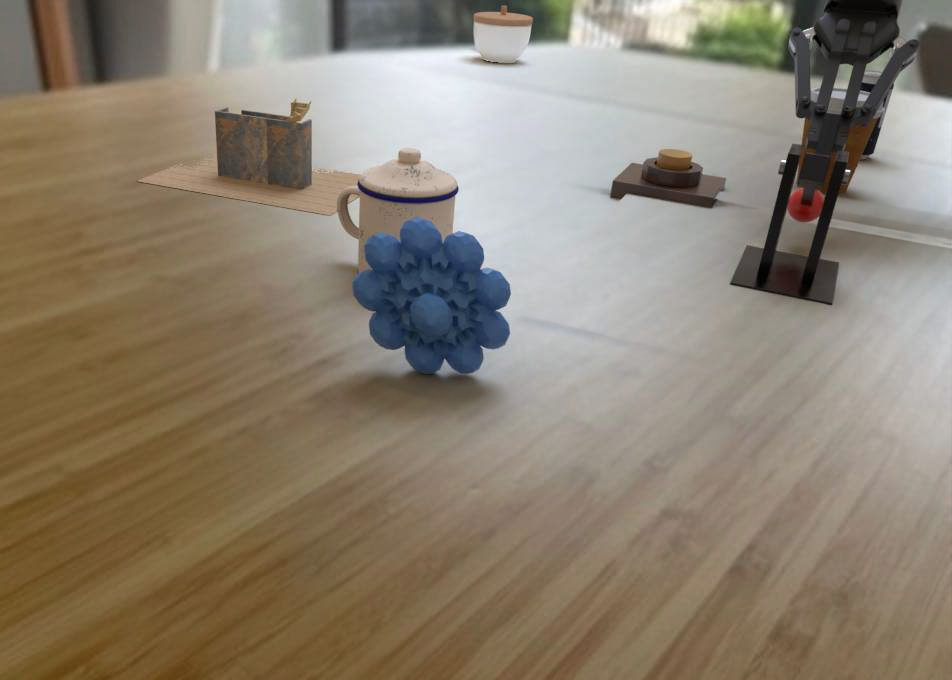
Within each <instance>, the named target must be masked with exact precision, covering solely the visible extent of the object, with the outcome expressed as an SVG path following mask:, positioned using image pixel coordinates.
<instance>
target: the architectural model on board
mask: <svg viewBox="0 0 952 680" xmlns="http://www.w3.org/2000/svg"><path fill="white" fill-rule="evenodd" d="M311 104H312V100H310V101H309V102H300V101H298V99H297V98H294V100H293V101H292V102H290V113H289V115H282V114H275V113H268V112H262V111H255V110H247V109H241V110H240V113H234V112H229V111H230V110H229V108H230V107H228V106H227V107H222V108H220V109H217V110H214V122H215V125H214V126H215V140H216V142H215V143H216V150H209V151H210V152H211V151H213V152H216V153H217V154H215V153H214V154H215V155H214V154H213V156H212V155H211V157H214V158H212V159H211V158H209V159H207V158H205V159H203V163H200V166H199V165H197V166H196V167H197V168H196V167H194V166H195V165H194V166H192V167H194V168H192V167H190V166H189V167H190V168H189V167H187V166H184V167H180V166H181V165H183V164H180V163H179V164H180V165H179V166H178V165H177V164H175V165H173V166H174V167H173V166H170V167H168V168H169V169H167V168H165V169H166V170H165V169H163V170H159V171H158V172H156V173H155V172H154V173H153V174H150V175H148V176H145V177H143V178H141V179H138V180H137V182H139V183H144V184H150V185H156V186H161V187H162V186H163V187H168V188H173V189H179V190H184V191H189V192H196V193H202V194H206V195H212V196H219V197H224V198H230V199H236V200H239V201H240V200H241V201H247V202H252V203H258V204H264V205H268V206H274V207H280V208H285V209H291V210H297V211H304V212H307V213H314V214H320V215H326V216H332V215H333V214H334V213H336V212H337V200H338V196H339V194H340V193H341V192H342V191H343V190H344V189H346V188H348V187H351V186H357V183H358V180H359V177H360V176H361V174H358V173H354V172H353V173H352V172H347V173H345V172H346V171H339V170H334V169H329V170H330V171H331V170H333V173H332V172H330V171H329V173H325V172H328V171H327V170H325V169H326V168H322V169H321V167H317V168H318V169H320V170H317V172H319V173H317V172H315V171H314V170H316V169H314V170H313V171H312V167H313V164H312V162H313V160H312V159H313V157H312V156H313V152H312V151H313V149H312V148H313V144H312V143H313V140H312V139H313V137H312V136H313V135H312V134H313V125H312V124H313V122H312V121H313V120H312V119H311V118H310V119H306V120H304V121H302V120H303V119H304V118H305V116H306V115H307V113H308V112H309V111H310V109H311ZM301 121H302V122H301ZM209 151H208V152H209ZM210 152H209V153H210ZM211 153H212V152H211ZM205 157H206V156H205ZM208 157H210V156H208ZM216 157H217V158H216ZM204 160H206V161H204ZM207 160H210V163H208V162H209V161H207ZM211 160H212V161H211ZM200 162H202V161H200ZM204 162H206V163H204ZM197 164H199V163H197ZM201 164H202V165H201ZM208 164H209V165H208ZM176 166H178V167H176ZM175 167H176V168H175ZM185 167H186V168H185ZM187 168H189V169H187ZM322 170H324V171H323V172H322ZM338 171H339V172H338ZM314 173H315V174H314ZM357 198H360V196H358V195H353V194H351V195H350V196H349V198H348V204H350V203H351V202H353V201H355V200H356V199H357Z"/></svg>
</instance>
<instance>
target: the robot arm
mask: <svg viewBox="0 0 952 680" xmlns="http://www.w3.org/2000/svg"><path fill="white" fill-rule="evenodd" d="M902 5H903V0H825V2H824V6H823V9H822V12H821V15H820V17H819V18H817V19H816V20H815V22H814V23H813V26H812V27H810V28H807V29H804V30H803V29H802V28H800V27H794V28H792V29H791V30H790V34H789V40H788V46H787V47H788V48H787V49H788V51H789V53H790V55H791V56H792V59H793V61H794V63H793V65H794V102H795V103H794V105H795V116H796V118H797V119H805V118H807V119H808V120H809V121H810V122H811V125H810V128H809V132H808V136H807V140H806V148H807V149H814V150H816V151H815V154H817V155H824V156H830V155H831V152H834V153H837V152H838V150H840V151H843V150H844V149H845V145H846V142H847V138H848V134H849V130H850V128H851V127H853V126H855V125H860V126H862V127H865V126H868V125H869V124H870V122H871V121H872V119H873V117H874V116H875V114H876V112H877V110H878V109H879V107H880V105H881V104H882V102H883V100H884V99H885V97H886V95H887V93H888V92H889V90H890V88H891V87H892V85H893V83H894V84H895V82H896V80H897V79H898V76H899V74H900V73H901V72H902V71H903V70H905V69H906V68H907V67H909V66H910V65H911V64H912V63H913V62H914V61H915V58H916V55H917V52H918V50H919V47H920V41H919V40H918V39H915V38H913V39H908V40H906V39H905V38H903V37H902V36H900V33H901V28H900V27H899V24H898V19H899V16H900V12H901V7H902ZM814 41H815V43H816V45H817V46H818V49H819V50H820V51H821V53H822V55H823V57H824V58H825V59H826V60H827V63H826V67H825V69H824V73H823V78H822V80H821V83H820V87H821V88H820V91H819V95H818V99H817V102H814V101H812V100H811V89H812V87H811V59H810V57H811V56H810V55H811V53H810V51H811V50H812V48H813V42H814ZM890 49H891V50H890ZM888 50H890V53H889V61H888V62H887V64H886V65H885V67H884V69H883V70H882V71H881V72H882V74H881V76H880V77H879V79H878V81H877V82H876V84H875V86H874V87H873V89H872V91H871V93H870V94H869V96H868V98H867V99H866V101H865V103H864V104H863V106H862V107H856V104H857V100H858V96H859V92H860V88H861V84H862V81H863V77H864V73H865V70H867V69H866V68H867V65H868V64H870V63H872V62H873V61H875V60H877V59H878V58H879V57H880V56H882V55H883V54H884V53H886V52H887V51H888ZM840 65H848V66H851V67H852V69H851V73H850V76H849V80H848V85H847V88H846V89H847V92H846V96H845V99H844V103H843V107H842V111H841V115H839V114H831V113H827V109H828V106H829V102H830V98H831V95H832V91H833V88H835V85H836V79H837V76H838V72H839V70H840Z"/></svg>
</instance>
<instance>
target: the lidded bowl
mask: <svg viewBox="0 0 952 680" xmlns="http://www.w3.org/2000/svg"><path fill="white" fill-rule="evenodd" d="M533 21H534V18H533V16H530V15H528V14H527V15H526V14H521V13H516V12H515V13H513V12H508V5H501V7H500V11H480V12H475V13H474V14H473V30H472V32H473V34H472V35H473V42H474V46H475V48H476V51H477V52H478V53H479V55H480V56H481V58H482V60H483V59H485V60H488V61H493V62H498V63H497V64H514V63H516V62H517V60H518V59H519V58H521V56H523V54H524V53H525V52H526V49H527V48H528V45H529V42H530V39H531V33H532V25H533V23H534V22H533Z"/></svg>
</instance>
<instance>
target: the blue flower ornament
mask: <svg viewBox="0 0 952 680" xmlns="http://www.w3.org/2000/svg"><path fill="white" fill-rule="evenodd" d="M400 241H401V243H400V242H399V241H398V240H397V238H396V237H394V236H391V235H389V234H386V233H382V232H380V233H378V234H376V235H373V236H371V237H369V238H368V240H367V242H366V243H365V246H364V252H365V260H366V261H367V263H368V264H369V266H370V267H371V268H372V269H373V270H370V269H368V270H365V271H363V272H360V273H359V272H358V273H357V274H355V277H354V278H353V280H352V294H353V297H354V298H355V300H356V301H357V303H358V304H359V305H360V306H361V307H362V308H363V309H365V310H368V311H370V312H373V313H372V314H371V316H370V319H369V320H368V330H369V336H370V337H371V338H372V340H373V341H374V342H375V343H376V344H377V345H378V346H379V347H381V348H383V349H384V350H389V351H396V350H399V349H401V348H403V347H404V349H403V351H404V357H405V360H406V361H407V363H408V364H409V366H410V367H411V368H412V369H413V370H414V371H417V372H418V373H420V374H424V375H425V374H426V375H430V374H435V373H437V372H438V371H440V370H441V369H442V366H443V365H444V363H445V361H446V363H447V365H449V367H450V368H451V369H452V370H454V371H456V372H457V373H459V374H465V375H469V374H473V373H475V372H477V371H479V370H480V368H481V367H482V364H483V362H484V359H485V358H484V349H487V350H497V349H500V348H502V347H504V346H506V344H507V342H508V340H509V338H510V335H511V330H510V323H509V322H508V321H507V320H506V318H505V316H504V315H503V314H502V313H501V312H500V311H498V310H501V309H503V308H505V307H507V305H508V302H509V301H510V299H511V295H512V290H511V284H510V283H509V281H508V280H507V278H506V277H505V276H504V274H503V273H502V272H501V271H499V270H496V269H495V268H490V267H484V268H482V266H483V264H484V263H485V262H484V261H485V253H484V252H485V251H484V248H483V246H482V245H481V243H480V241H478V240H477V238H476V236H475V235H473V234H471V233H468V232H465V231H461V230H458V231H455V232H453V233H452V234H450V235H448V236H446V238H445V240H444V242H443V244H442V236H441V233H440V232H439V231H438V229H437V228H436V227H435V225H434V224H433V223H432V222H431V221H429V220H426V219H423V218H420V217H415V218H413V219H411V220H408V221H406V222H404V224H403V226H402V228H401V230H400ZM483 348H484V349H483Z"/></svg>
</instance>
